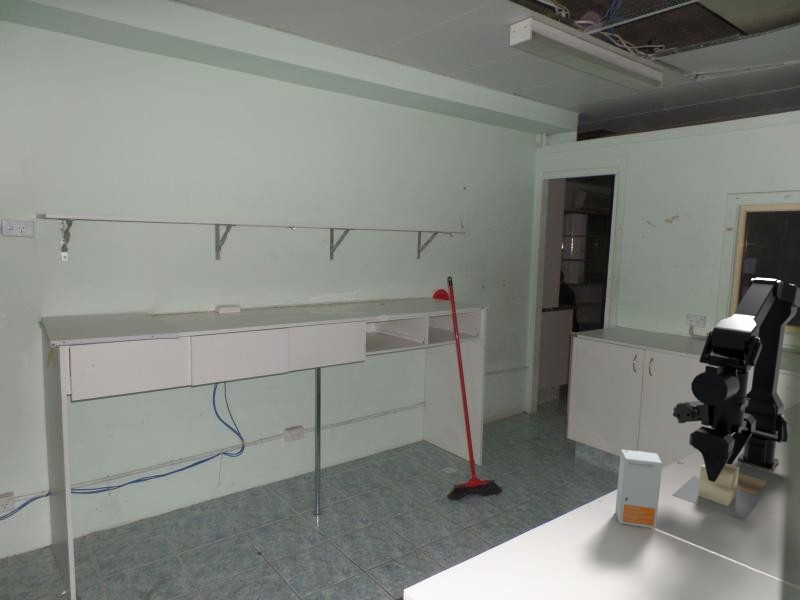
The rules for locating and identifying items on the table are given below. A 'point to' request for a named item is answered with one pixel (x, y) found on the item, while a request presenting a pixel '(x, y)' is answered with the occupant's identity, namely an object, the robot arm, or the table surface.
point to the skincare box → (638, 488)
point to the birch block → (719, 485)
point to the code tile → (735, 509)
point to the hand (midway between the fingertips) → (719, 473)
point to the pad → (750, 484)
